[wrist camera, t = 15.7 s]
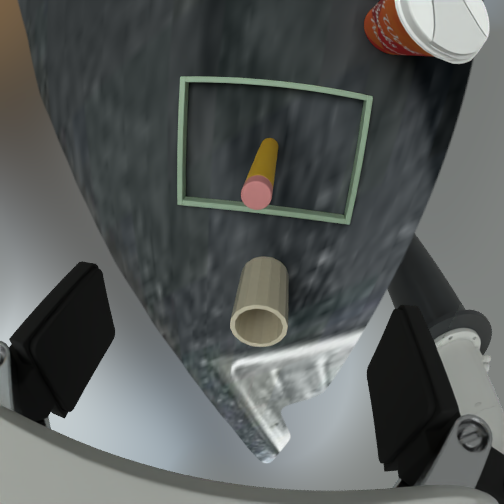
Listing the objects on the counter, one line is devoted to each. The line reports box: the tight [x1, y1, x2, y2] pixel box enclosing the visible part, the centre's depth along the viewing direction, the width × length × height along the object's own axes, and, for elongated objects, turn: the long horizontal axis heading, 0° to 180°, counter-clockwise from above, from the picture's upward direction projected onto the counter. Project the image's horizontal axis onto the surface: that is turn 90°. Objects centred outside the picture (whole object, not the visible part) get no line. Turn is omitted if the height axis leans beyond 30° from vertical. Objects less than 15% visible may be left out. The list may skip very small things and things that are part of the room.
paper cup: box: [364, 0, 489, 64], centre depth 19 cm, size 8×8×14 cm
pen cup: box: [230, 256, 289, 347], centre depth 36 cm, size 6×6×10 cm
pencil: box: [241, 138, 278, 210], centre depth 25 cm, size 2×2×16 cm
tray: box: [177, 77, 373, 225], centre depth 32 cm, size 19×14×2 cm
